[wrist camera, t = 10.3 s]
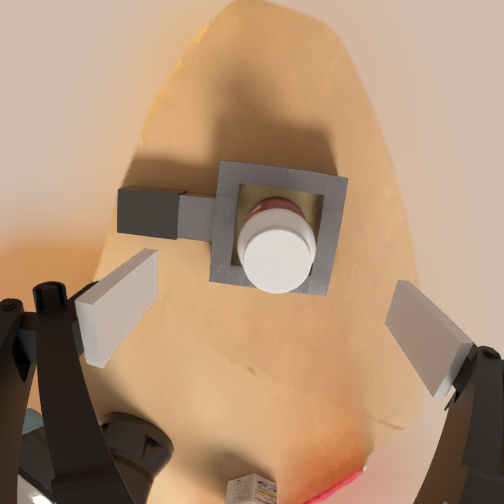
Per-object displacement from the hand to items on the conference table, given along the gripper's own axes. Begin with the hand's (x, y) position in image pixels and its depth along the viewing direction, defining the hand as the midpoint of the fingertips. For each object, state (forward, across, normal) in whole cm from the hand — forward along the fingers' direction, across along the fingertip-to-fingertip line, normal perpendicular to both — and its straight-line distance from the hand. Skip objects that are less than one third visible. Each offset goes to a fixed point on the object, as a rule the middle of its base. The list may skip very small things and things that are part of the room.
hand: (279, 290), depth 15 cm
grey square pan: (+17, -5, 0) cm, 18 cm away
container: (+18, +4, -55) cm, 58 cm away
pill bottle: (+16, 0, 0) cm, 16 cm away
